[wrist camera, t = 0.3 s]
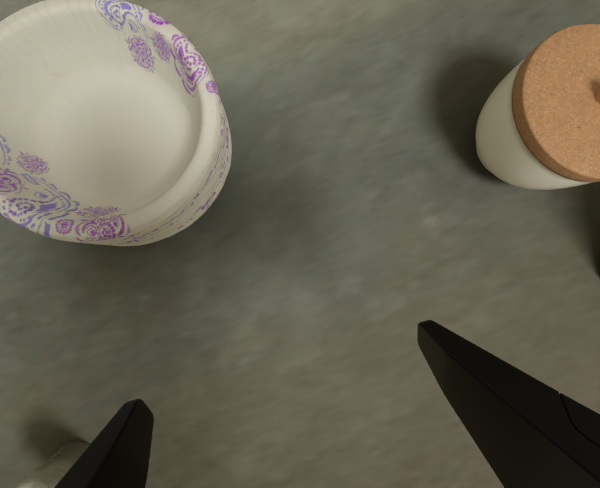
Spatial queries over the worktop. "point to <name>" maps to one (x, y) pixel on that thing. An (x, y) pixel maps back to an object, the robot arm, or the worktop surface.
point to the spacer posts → (55, 466)
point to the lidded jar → (546, 115)
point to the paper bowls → (106, 124)
